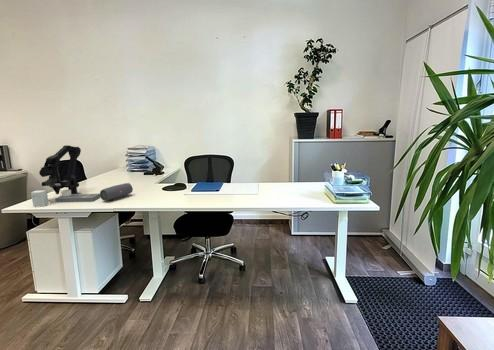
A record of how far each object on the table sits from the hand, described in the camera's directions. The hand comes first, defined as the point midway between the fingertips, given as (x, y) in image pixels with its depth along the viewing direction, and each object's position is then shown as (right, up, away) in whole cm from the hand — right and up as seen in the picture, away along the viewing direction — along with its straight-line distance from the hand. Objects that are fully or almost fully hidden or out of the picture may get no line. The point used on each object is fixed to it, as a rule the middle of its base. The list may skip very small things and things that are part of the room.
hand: (57, 194), depth 232 cm
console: (+16, -4, 0) cm, 17 cm away
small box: (-5, -7, -12) cm, 14 cm away
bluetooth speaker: (+45, -3, +1) cm, 45 cm away
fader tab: (+7, -1, 0) cm, 7 cm away
